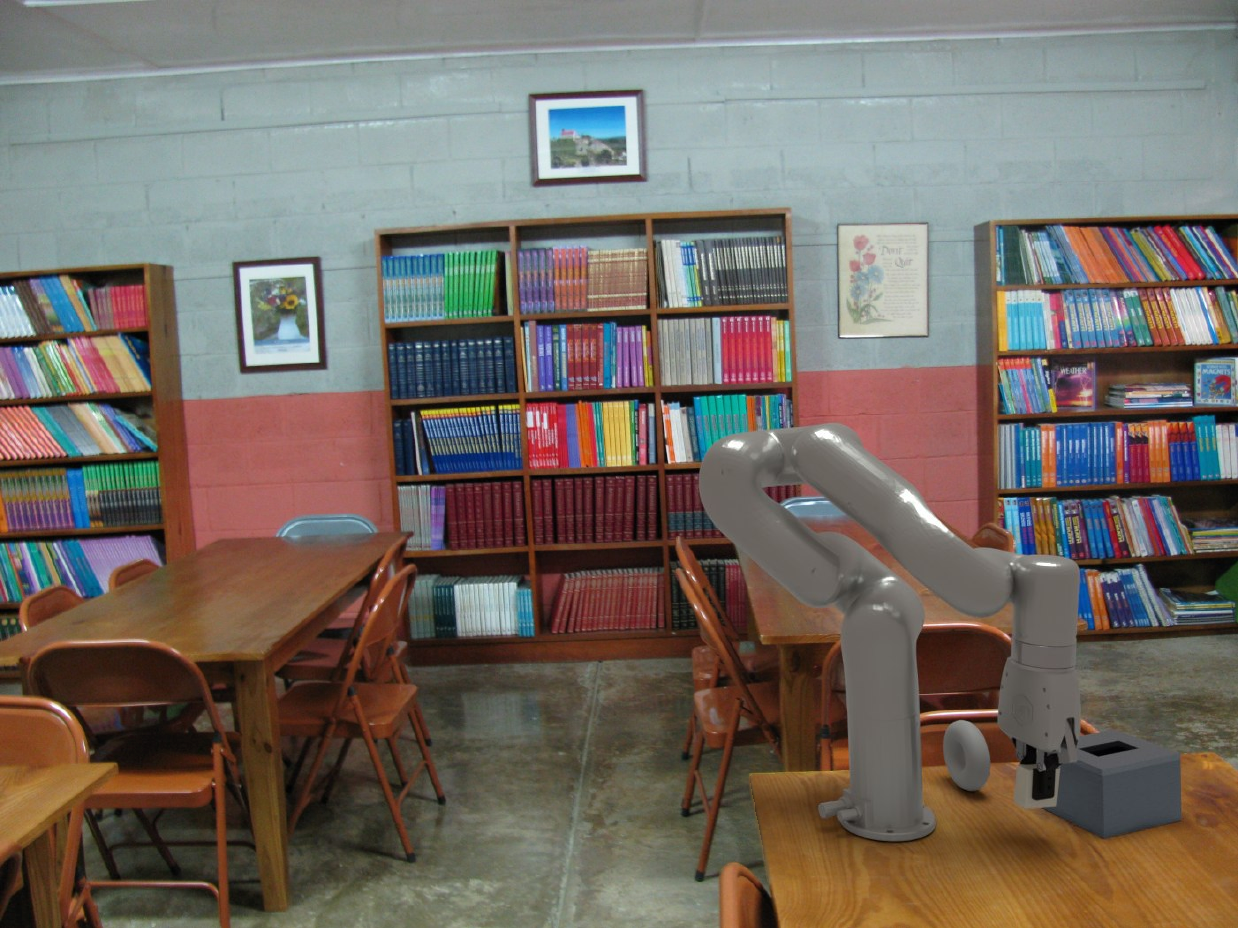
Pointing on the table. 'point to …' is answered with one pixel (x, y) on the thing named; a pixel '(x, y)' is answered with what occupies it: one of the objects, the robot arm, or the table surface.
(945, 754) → the donut
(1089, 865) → the table surface
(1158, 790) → the box
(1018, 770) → the token
